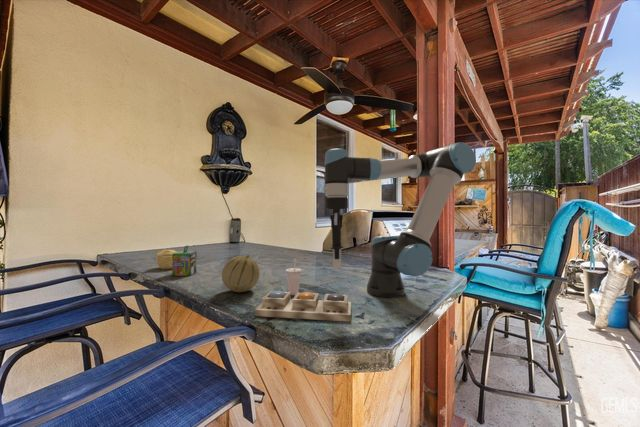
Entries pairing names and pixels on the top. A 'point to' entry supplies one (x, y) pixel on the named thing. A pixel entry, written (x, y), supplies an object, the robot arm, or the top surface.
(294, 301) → the button panel
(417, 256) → the robot arm
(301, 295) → the orange button
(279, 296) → the blue button
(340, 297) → the charcoal button
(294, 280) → the smoothie
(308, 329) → the top surface
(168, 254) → the sculpture
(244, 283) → the cantaloupe
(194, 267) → the chalk box
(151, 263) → the top surface
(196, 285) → the top surface
